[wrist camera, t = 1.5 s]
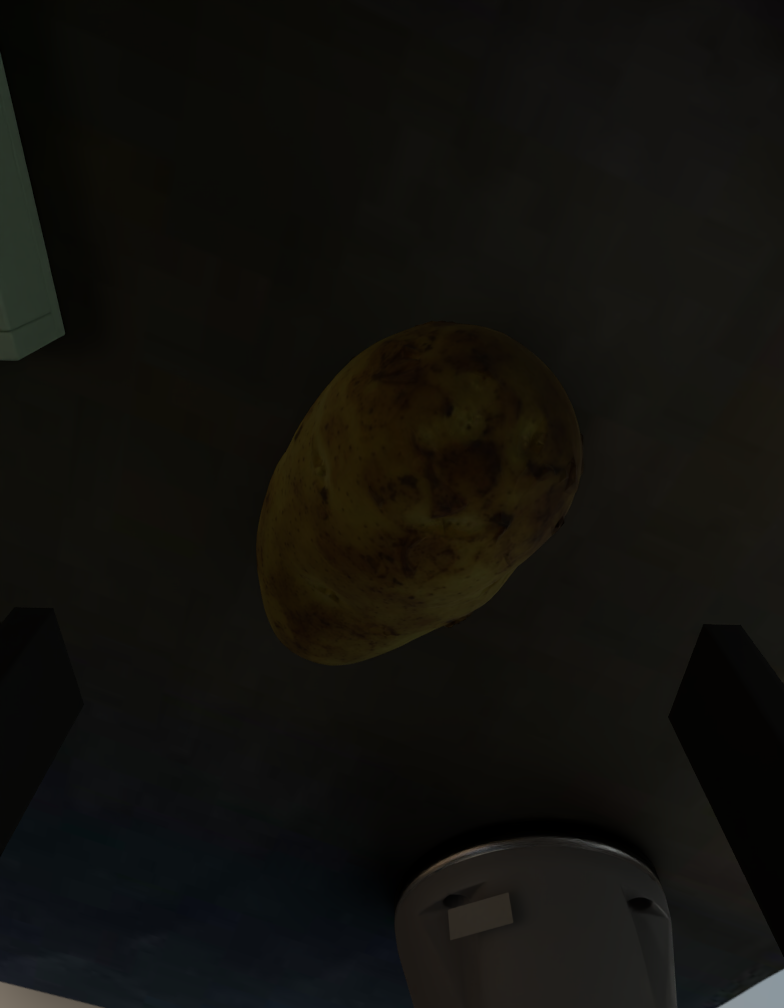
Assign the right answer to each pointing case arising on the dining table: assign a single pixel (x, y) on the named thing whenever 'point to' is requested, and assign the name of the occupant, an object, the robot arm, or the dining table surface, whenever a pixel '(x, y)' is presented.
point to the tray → (21, 251)
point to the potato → (414, 491)
